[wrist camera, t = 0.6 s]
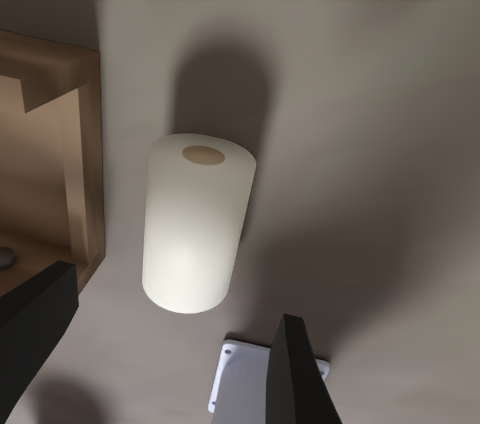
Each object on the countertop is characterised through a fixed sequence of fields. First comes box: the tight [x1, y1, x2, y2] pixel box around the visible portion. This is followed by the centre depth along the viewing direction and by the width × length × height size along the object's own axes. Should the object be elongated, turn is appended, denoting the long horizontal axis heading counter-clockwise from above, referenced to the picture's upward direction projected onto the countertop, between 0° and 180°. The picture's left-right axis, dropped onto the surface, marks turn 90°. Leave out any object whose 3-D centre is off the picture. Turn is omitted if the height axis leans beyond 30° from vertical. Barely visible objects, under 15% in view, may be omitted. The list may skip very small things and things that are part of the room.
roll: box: [142, 133, 256, 313], centre depth 19 cm, size 8×5×5 cm, turn 170°
